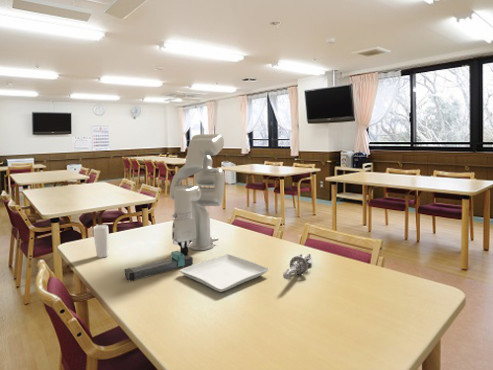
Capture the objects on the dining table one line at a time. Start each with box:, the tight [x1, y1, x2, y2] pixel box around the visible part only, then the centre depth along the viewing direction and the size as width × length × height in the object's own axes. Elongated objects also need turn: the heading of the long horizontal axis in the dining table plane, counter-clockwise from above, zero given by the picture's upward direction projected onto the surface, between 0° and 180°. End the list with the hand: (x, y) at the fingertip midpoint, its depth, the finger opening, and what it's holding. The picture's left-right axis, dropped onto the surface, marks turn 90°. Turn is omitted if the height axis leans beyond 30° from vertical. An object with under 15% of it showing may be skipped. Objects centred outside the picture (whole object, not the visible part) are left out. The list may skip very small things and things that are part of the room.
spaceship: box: [282, 253, 313, 280], centre depth 146 cm, size 8×35×8 cm
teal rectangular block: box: [170, 250, 185, 268], centre depth 156 cm, size 3×7×5 cm, turn 38°
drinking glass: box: [92, 224, 110, 259], centre depth 169 cm, size 7×7×15 cm
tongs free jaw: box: [124, 257, 175, 279], centre depth 150 cm, size 22×3×3 cm, turn 128°
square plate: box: [179, 253, 270, 293], centre depth 145 cm, size 27×27×4 cm
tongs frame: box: [126, 254, 194, 282], centre depth 151 cm, size 29×6×3 cm, turn 128°
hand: (184, 255), depth 158 cm, fingers closed
